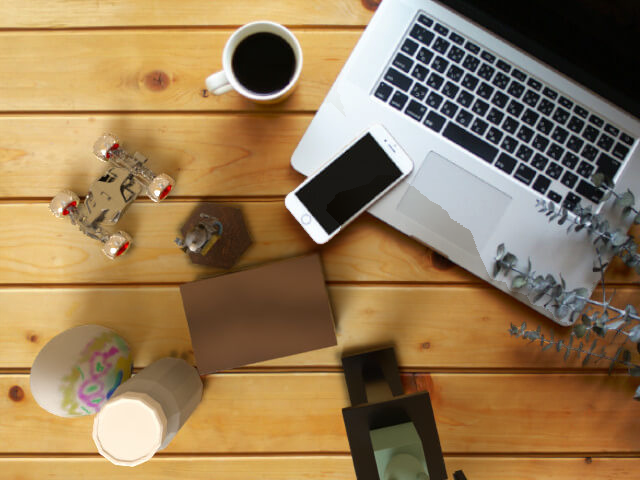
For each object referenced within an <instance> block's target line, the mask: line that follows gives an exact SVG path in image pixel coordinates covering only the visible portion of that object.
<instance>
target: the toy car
mask: <svg viewBox="0 0 640 480" xmlns="http://www.w3.org/2000/svg"><path fill="white" fill-rule="evenodd" d="M123 145H124V144H123V141H122V139H121V138H120V137H118V135H116V134H115V133H114V132H113V133H112V132H110V131H109V132H108V131H107V132H106V133H103V134H102V135H100V137H98V138H97V140H96V141H95V142H94V145H93V146H92V149H91V151H92V153H93V155H94V156H95V157H96V158H97V159H98V160H100V161H102V162H104V163H106V162H107V163H108V162H111V164H113V165H114V166H110V167H109V168H108V169H107V170H106V171H105V172H104V173H103V174H101V175H100V176H98V178H97V179H95V180H94V181H93V182H92V183H91V185H90V186H89V189H88V192H87V195H86V197H85V199H84V200H83V201H84V202H83V203H84V207H85V208H86V211H87V214H85V213H84V212H83V211H82V210H81V209H80V208H78V207H79V205H80V202H81V200H80V197H79V196H78V195H77V194H76V193H75V192H73V191H72V190H69V189H64V190H61V191H60V192H57V193H56V194H55V196H53V198H52V199H51V200H50V202H49V203H48V205H49V206H48V210H49V212H50V213H51V214H52V215H53V216H54V217H56V218H57V219H61V220H62V219H66V218H68V217H69V219H70V223H71V225H73V226H75V225H78V226H79V227H78V231H80V232H82V233H83V235H86V236H87V237H89V238H90V239H94V240H96V241H100V243H101V244H103V246H102V249H101V250H102V252H103V253H104V255H105V256H107V258H109V259H111V260H118V259H119V258H120V257H122V256H123V255H124V254H125V253H126V252H127V251H128V250H129V248H130V247H131V244H132V242H133V238H132V237H131V236H130V234H128V233H127V232H125V231H123V230H117V231H116V232H114V233H113V234H112V233H111V232H109V231H107V230H106V229H105V228H103V227H102V226H101V225H109V226H116V225H117V224H119V221H120V220H121V219H122V218H123V217H124V215H125V214H126V212H127V211H128V210H129V208H130V207H131V206H132V205H133V203H134V202H135V201H136V199H138V197H139V195H140V194H141V193H142V187H143V188H145V190H146V191H145V193H146V196H147V197H149V199H151V201H153V202H155V203H158V204H159V203H162V201H164V200H165V199H166V198H167V197H168V196H169V195H170V194H171V192H172V191H173V189H174V187H175V184H176V183H175V180H174V179H173V178H172V177H171V176H170V175H168V174H166V173H164V172H162V173H159V174H156V173H155V172H154V171H152V170H151V169H150V168H148V167H147V166H146V165H147V162H148V160H149V158H148V157H147V156H146V155H144V154H143V153H142V152H140V151H136V152H135V153H134V154H133V155H131V154H130V153H129V152H128V151H126V149H124V148H123ZM126 156H128V158H127V157H126ZM114 159H115V160H114ZM119 163H120V164H122V165H123V166H124V167H122V166H121V165H120V164H119ZM115 166H116V167H115ZM138 177H139V178H140V179H141V180H143V181H144V182H147V184H148V185H145V184H144V182H142V181H140V180H139V179H138ZM150 177H151V178H150ZM141 186H142V187H141ZM80 214H81V215H80ZM98 230H99V231H98ZM104 233H105V234H104ZM98 235H99V236H98Z"/></svg>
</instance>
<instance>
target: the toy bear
mask: <svg viewBox="0 0 640 480" xmlns="http://www.w3.org/2000/svg"><path fill="white" fill-rule="evenodd" d="M370 436H371V441H372V445H373V450H374V454H375V459H376V463H377V468H378V472H379V477H380V480H430V478H429V474H428V469H427V465H426V460H425V456H424V451H423V447H422V442H421V440H420V438H419V435H418V433H417V431H416V429H415V427H414V425H413V423H412V422H409V423H404V424H400V425H395V426H390V427H386V428H381V429H377V430H372V431H370Z"/></svg>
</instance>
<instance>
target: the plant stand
mask: <svg viewBox="0 0 640 480" xmlns="http://www.w3.org/2000/svg"><path fill="white" fill-rule="evenodd" d="M340 362H341V366H342V370H343V374H344V379H345V384H346V388H347V392H348V397H349V402H350V406H346V407H342V408H341V416H342V419H343V424H344V429H345V433H346V437H347V443H348V447H349V451H350V455H351V460H352V464H353V469H354V473H355V478H356V480H380V477H379V472H378V468H377V463H376V459H375V454H374V450H373V445H372V441H371V436H370V431H372V430H377V429H381V428H386V427H390V426H395V425H400V424H404V423H409V422H412V423H413V425H414V427H415V429H416V431H417V433H418V435H419V438H420V440H421V442H422V447H423V451H424V456H425V460H426V465H427V469H428V474H429V478H430V480H449V475H448V471H447V467H446V461H445V458H444V454H443V449H442V445H441V439H440V436H439V431H438V425H437V422H436V416H435V413H434V408H433V404H432V399H431V395H430V392H429V390H428V389H424V390H419V391H415V392H410V393H406V394H405V391H404V388H403V383H402V379H401V378H402V377H401V374H400V370H399V365H398V364H399V363H398V361H397V355H396V351H395V346H394V345H393V344H390V345H385V346H381V347H377V348H372V349H368V350H362V351H359V352H354V353H350V354H344V355H340Z"/></svg>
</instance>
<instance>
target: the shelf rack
mask: <svg viewBox="0 0 640 480" xmlns="http://www.w3.org/2000/svg"><path fill="white" fill-rule="evenodd" d="M178 288H179V293H180V297H181V301H182V306H183V311H184V314H185V315H184V316H185V319H186V324H187V329H188V332H189V337H190V342H191V346H192V352H193V355H194V359H195V365H196V370H197V372H198V374H199V377H200V376H205V375H209V374H213V373H218V372H222V371H226V370H232V369H235V368H241V367H245V366H249V365H255V364H259V363H264V362H268V361H272V360H277V359H283V358H286V357H291V356H295V355H299V354H305V353H309V352H315V351H318V350H323V349H327V348H332V347H336V346H338V345H339V344H338V335H337V328H336V324H335V319H334V314H333V310H332V306H331V301H330V295H329V292H328V287H327V283H326V278H325V274H324V269H323V264H322V260H321V255H320V252H319V251H317V252H312V253H308V254H304V255H299V256H295V257H290V258H286V259H282V260H281V259H280V260H276V261H272V262H268V263H263V264H259V265H255V266H250V267H246V268H241V269H235V270H232V271H228V272H227V271H226V272H222V273H219V274H213V275H209V276H205V277H204V276H203V277H201V278H197V279H194V280H190V281H188V282H185V283H181V284H179V285H178Z"/></svg>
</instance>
